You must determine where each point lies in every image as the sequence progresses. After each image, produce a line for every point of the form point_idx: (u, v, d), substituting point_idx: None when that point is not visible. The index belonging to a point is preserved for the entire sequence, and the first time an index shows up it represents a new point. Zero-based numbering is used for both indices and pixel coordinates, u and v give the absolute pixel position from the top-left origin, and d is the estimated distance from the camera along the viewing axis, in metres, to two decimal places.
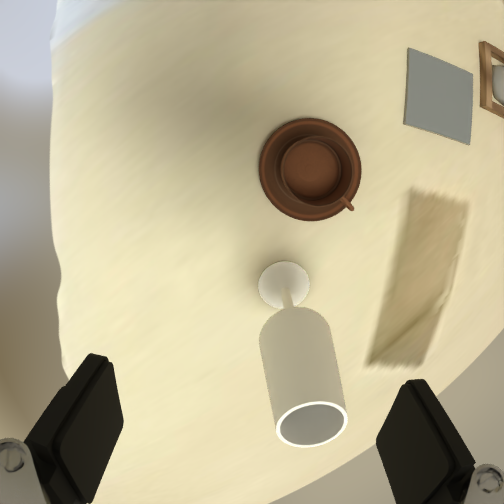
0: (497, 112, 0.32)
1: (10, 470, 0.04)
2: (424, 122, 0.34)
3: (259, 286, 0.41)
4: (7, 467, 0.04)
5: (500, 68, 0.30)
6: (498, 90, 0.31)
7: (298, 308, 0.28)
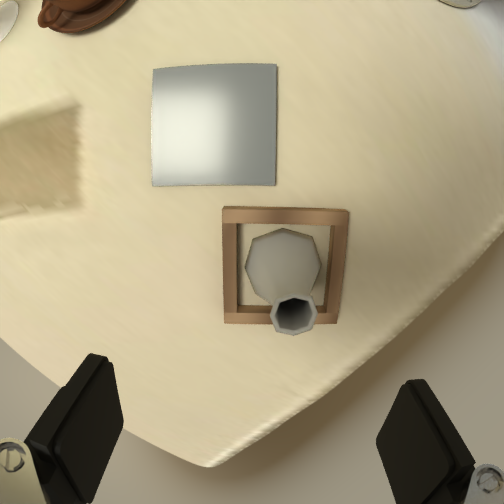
0: None
1: (9, 469, 0.04)
2: (162, 97, 0.25)
3: (2, 5, 0.21)
4: (7, 466, 0.04)
5: (307, 245, 0.28)
6: (263, 241, 0.28)
7: None
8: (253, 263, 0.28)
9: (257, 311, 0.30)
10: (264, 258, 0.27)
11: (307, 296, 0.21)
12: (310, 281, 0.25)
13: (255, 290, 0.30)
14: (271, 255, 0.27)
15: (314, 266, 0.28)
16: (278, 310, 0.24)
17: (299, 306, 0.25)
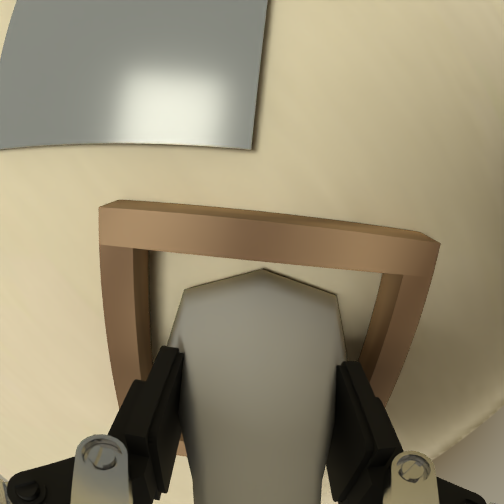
0: None
1: (98, 465, 0.05)
2: None
3: None
4: (96, 462, 0.05)
5: (324, 326, 0.10)
6: (207, 305, 0.10)
7: None
8: None
9: None
10: (196, 363, 0.09)
11: None
12: (326, 446, 0.07)
13: None
14: (218, 358, 0.08)
15: None
16: None
17: None
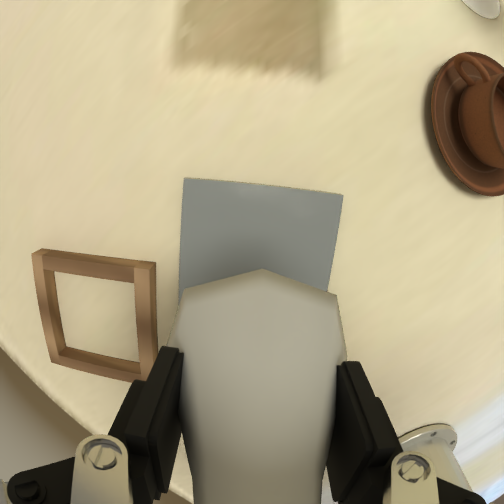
0: (115, 263, 0.23)
1: (98, 466, 0.05)
2: (301, 203, 0.22)
3: None
4: (96, 462, 0.05)
5: (324, 325, 0.10)
6: (207, 304, 0.10)
7: None
8: None
9: (48, 289, 0.23)
10: (197, 362, 0.08)
11: None
12: (326, 446, 0.07)
13: None
14: (218, 357, 0.08)
15: None
16: None
17: None
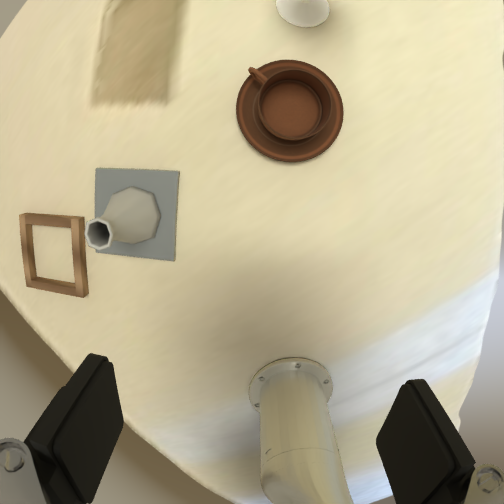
0: (62, 217, 0.37)
1: (9, 469, 0.04)
2: (154, 178, 0.36)
3: (328, 7, 0.30)
4: (7, 467, 0.04)
5: (143, 197, 0.35)
6: (116, 194, 0.35)
7: None
8: None
9: (27, 236, 0.38)
10: (109, 204, 0.34)
11: (105, 220, 0.28)
12: (132, 220, 0.32)
13: None
14: (113, 202, 0.34)
15: (146, 213, 0.35)
16: (103, 237, 0.31)
17: (121, 238, 0.32)
